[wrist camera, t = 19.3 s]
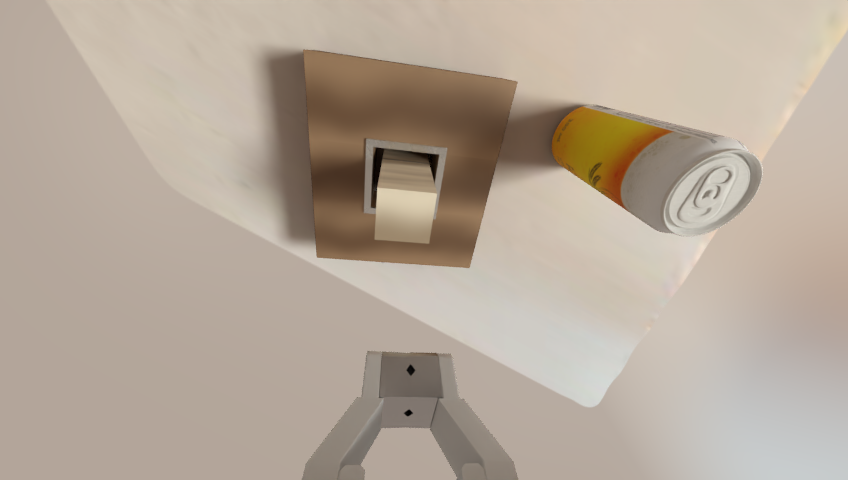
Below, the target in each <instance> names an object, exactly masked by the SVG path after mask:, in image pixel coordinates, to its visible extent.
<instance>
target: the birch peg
mask: <svg viewBox="0 0 848 480" xmlns="http://www.w3.org/2000/svg"><path fill="white" fill-rule="evenodd" d="M436 198H437V191H436V187H435V183H434V180H433V176H432V172H431V168H430V163H429V161H428V157H427V153H422V152H413V151H404V150H396V149H387V148H384V153H383V158H382V164H381V170H380V176H379V181H378V187H377V202H376V221H375V240H387V241H400V242H413V243H426V244H429V241H430V235H431V229H432V222H433V216H434V210H435V204H436Z"/></svg>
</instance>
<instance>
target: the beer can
mask: <svg viewBox="0 0 848 480" xmlns="http://www.w3.org/2000/svg"><path fill="white" fill-rule="evenodd" d="M552 153H553V156H554V158H555V160H556V161H557V163H558V164H560V165H561V166H562V167H564V168H565V169H567V170H568V171H570V172H571V173H573V174H574V175H576V176H577V177H578V178H580V179H581V180H583V181H584V182H586V183H587V184H589V185H590V186H592V187H593V188H595V189H596V190H598V191H599V192H601V193H602V194H603V195H605V196H606V197H608V198H609V199H611V200H612V201H614V202H615V203H617V204H618V205H620V206H621V207H623V208H624V209H625V210H627V211H628V212H630V213H631V214H633V215H634V216H636V217H637V218H639V219H640V220H642V221H643V222H645V223H646V224H647V225H649V226H650V227H652V228H653V229H655V230H657V231H660V232H664V233H673V234H676V235H679V236H686V237H691V236H699V235H703V234H706V233H709V232H712V231H714V230H716V229H718V228H720V227H722V226H724V225H725V224H727V223H728V222H730V221H731V220H732V219H734V218H735V217H736V216H738V215H739V214H740V213H741V212H742V211H743V210H744V209H745V208H746V207H747V206H748V204H749V203H750V202H751V201H752V199H753V198H754V196H755V195H756V193H757V191H758V189H759V187H760V184H761V181H762V176H763V168H762V164H761V162H760V160H759V159H758V157H757V156H756V155H754V154H753V153H751V152H749V150H748V149H747V148H746V147H745V146H744V145H743V144H742V143H741V142H740V141H738V140H736V139H732V138H729V137H725V136H721V135H717V134H712V133H708V132H704V131H700V130H696V129H692V128H688V127H684V126H680V125H676V124H672V123H668V122H664V121H660V120H656V119H652V118H647V117H643V116H639V115H635V114H631V113H627V112H623V111H619V110H615V109H611V108H607V107H603V106H599V105H586V106H582V107H579V108H577V109H575V110H574V111H572V112H571V113H569V114H568V115H567V116H566V117H565V118H564V119H563V120H562V121H561V122H560V124H559V125H558V127H557V129H556V131H555V133H554V136H553V139H552Z"/></svg>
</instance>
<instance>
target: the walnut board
mask: <svg viewBox="0 0 848 480" xmlns="http://www.w3.org/2000/svg"><path fill="white" fill-rule="evenodd" d="M303 53H304V68H305V84H306V99H307V115H308V130H309V145H310V161H311V176H312V192H313V207H314V222H315V238H316V253H317V257H318V258H332V259H347V260H361V261H376V262H390V263H405V264H420V265H434V266H449V267H463V268H469V267H470V264H471V260H472V256H473V252H474V248H475V244H476V240H477V237H478V233H479V229H480V225H481V221H482V217H483V213H484V210H485V206H486V202H487V198H488V194H489V190H490V186H491V183H492V179H493V175H494V171H495V167H496V163H497V159H498V156H499V152H500V148H501V144H502V140H503V136H504V132H505V129H506V125H507V121H508V117H509V113H510V109H511V105H512V102H513V98H514V94H515V90H516V86H517V82H516V81H512V80H507V79H502V78H496V77H489V76H482V75H476V74H469V73H462V72H456V71H449V70H442V69H436V68H429V67H423V66H416V65H409V64H403V63H396V62H389V61H383V60H376V59H369V58H363V57H356V56H349V55H343V54H336V53H330V52H323V51H316V50H303ZM376 147H378V148H387V149H396V150H404V151H413V152H422V153H431V154H433V158H432V165H431V172H432V176H433V180H434V183H435V187H436V191H437V198H436V204H435V210H434V216H433V222H432V229H431V235H430V241H429V244H426V243H413V242H400V241H387V240H375V221H376V202H377V191H374V184H375V163H376Z"/></svg>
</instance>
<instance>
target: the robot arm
mask: <svg viewBox="0 0 848 480" xmlns="http://www.w3.org/2000/svg"><path fill="white" fill-rule="evenodd" d="M381 359H382V360H381ZM399 427H409V428H430V430H431V432H432V434H433V435H434V437H435V439H436V441H437V442H438V444H439V446H440V448H441V449H442V451H443V453H444V455H445V457H446V458H447V460H448V462H449V464H450V466H451V467H452V469H453V471H454V472H455V474H456V476H457V480H518V477H517V473H516V470H515V466H514V462H513V461H512V459H511V458H510V457H509V456H508V454H507V453H506V452H505V451H504V450H503V448H502V447H501V446H500V444H499V443H498V442H497V440H496V439H495V438H494V437H493V435H492V434H491V433H490V432H489V430H488V429H487V428H486V427H485V425H484V424H483V423H482V421H481V420H480V419H479V418H478V416H477V415H476V414H475V413H474V411H473V410H472V409H471V408H470V406H469V405H468V404H467V403H466V401H465V400H464V399H459V393H458V387H457V381H456V375H455V368H454V363H453V357H452V355H451V354H437V353H398V352H381V351H380V352H378V351H368V352H367V355H366V364H365V372H364V380H363V389H362V397H357V398H356V399H355V401H354V402H353V403H352V405H351V406H350V407H349V409H348V410H347V411H346V412H345V414H344V415H343V416H342V418H341V419H340V420H339V422H338V423H337V424H336V425H335V427H334V428H333V429H332V430H331V432H330V433H329V434H328V436H327V437H326V438H325V440H324V441H323V442H322V444H321V445H320V446H319V447H318V449H317V450H316V452H314V454H313V455H312V456H311V458H310V459H309V460H308V462H307V463H306V466H305V470H304V474H303V478H302V480H364V474H365V470H364V469H363V467H362V466H361V465H360V464H361V463H362V461H363V459H364V458H365V456H366V454H367V452H368V451H369V449H370V447H371V446H372V444H373V442H374V440H375V439H376V437H377V435H378V433H379V432H380V430H381V428H399Z"/></svg>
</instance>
